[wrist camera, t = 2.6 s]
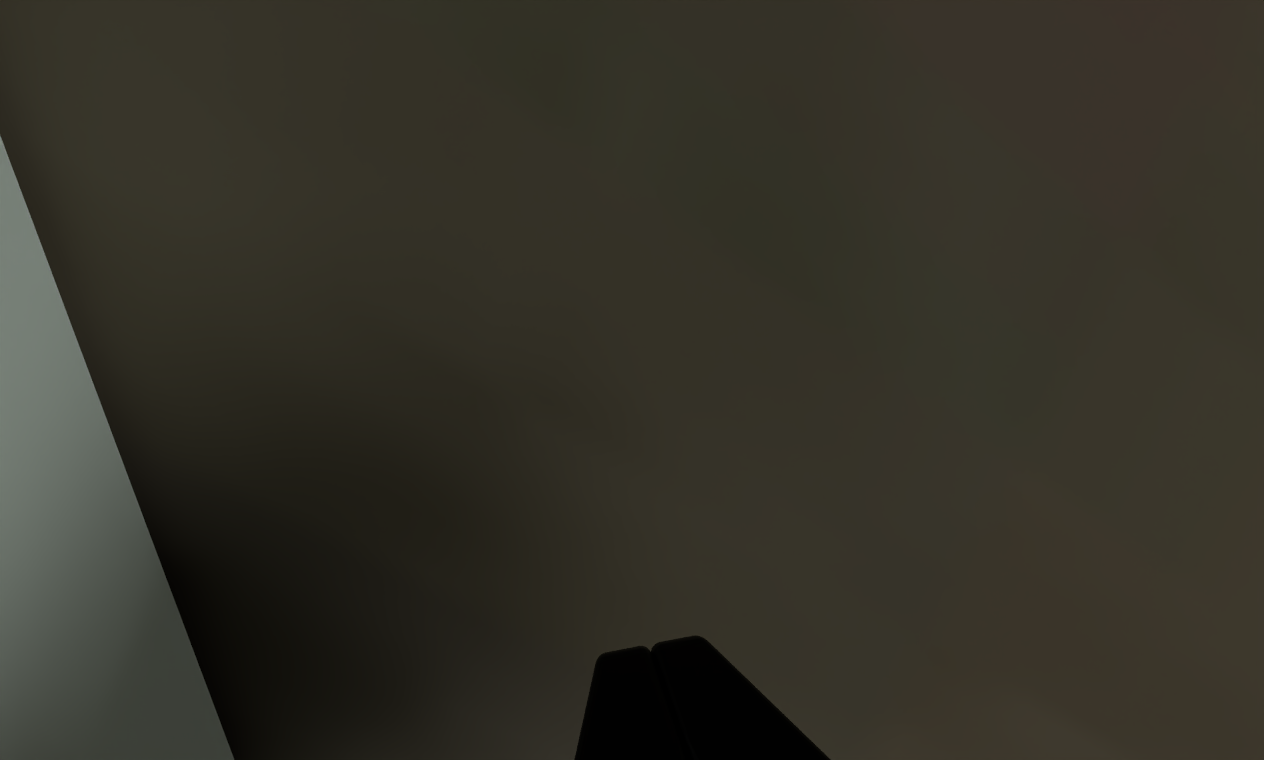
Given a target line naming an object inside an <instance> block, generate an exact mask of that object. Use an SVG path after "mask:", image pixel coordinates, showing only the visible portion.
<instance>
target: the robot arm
mask: <svg viewBox="0 0 1264 760" xmlns="http://www.w3.org/2000/svg"><path fill="white" fill-rule="evenodd" d="M575 760H830V759H829V758H828V757H827V756H826V755H825V754H824V753H823V752H822V751H821V750H820V749H819V748H818V747H817V746H816V745H815V744H814V743H813V742H812V741H811V740H810V739H809V738H808V737H807V736H806V735H805V734H803V733H802V732H801V731H800V730H799V729H798V728H797V727H796V726H795V725H794V724H793V723H792V722H791V721H790V720H789V719H788V718H787V717H786V716H785V715H784V714H783V713H782V712H781V711H780V710H779V709H778V708H777V707H776V706H774V705H773V704H772V703H771V702H770V701H769V700H768V699H767V698H766V697H765V696H764V695H763V694H762V693H761V692H760V691H759V690H758V689H757V688H756V687H755V686H754V685H753V684H752V683H751V682H750V681H749V680H748V679H747V678H745V677H744V676H743V675H742V674H741V673H740V672H739V671H738V670H737V669H736V668H735V667H734V666H733V665H732V664H731V663H730V662H729V661H728V660H727V659H726V658H725V657H724V656H723V655H722V654H721V653H720V652H719V651H718V650H717V649H715V648H714V647H713V646H712V645H711V644H710V643H709V642H708V641H707V640H706V639H704V638H703V637H700V636H690V637H684V638H679V639H674V640H669V641H663V642H659V643H656V644H655V645H654V646H653V647H652V650H651V652H650V650H649V649H648V648H647V647H644V646H637V647H632V648H627V649H622V650H617V651H612V652H606V653H603V654H601V655H600V656H599V657H598V659H597V661H596V664H595V669H594V673H593V678H592V682H591V687H590V691H589V696H588V701H587V705H586V710H585V714H584V719H583V723H582V728H581V732H580V737H579V742H578V746H577V751H576V755H575Z"/></svg>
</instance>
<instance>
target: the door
mask: <svg viewBox="0 0 1264 760" xmlns="http://www.w3.org/2000/svg"><path fill="white" fill-rule="evenodd" d="M0 760H234V758H233V755H232V752H231V750H230V747H229V744H228V742H227V739H226V736H225V734H224V731H223V728H222V726H221V723H220V720H219V718H218V715H217V712H216V710H215V707H214V704H213V702H212V699H211V696H210V694H209V691H208V688H207V686H206V683H205V680H204V678H203V675H202V672H201V670H200V667H199V664H198V662H197V659H196V656H195V654H194V651H193V648H192V646H191V643H190V640H189V638H188V635H187V632H186V630H185V627H184V624H183V622H182V619H181V616H180V614H179V611H178V608H177V606H176V603H175V600H174V598H173V595H172V592H171V590H170V587H169V584H168V582H167V579H166V576H165V574H164V571H163V568H162V566H161V563H160V560H159V558H158V555H157V552H156V550H155V547H154V544H153V542H152V539H151V536H150V534H149V531H148V528H147V526H146V523H145V520H144V518H143V515H142V512H141V510H140V507H139V504H138V502H137V499H136V496H135V494H134V491H133V488H132V486H131V483H130V480H129V478H128V475H127V472H126V470H125V467H124V464H123V462H122V459H121V456H120V454H119V451H118V448H117V446H116V443H115V440H114V438H113V435H112V432H111V430H110V427H109V424H108V422H107V419H106V416H105V414H104V411H103V408H102V406H101V403H100V400H99V398H98V395H97V392H96V390H95V387H94V384H93V382H92V379H91V376H90V374H89V371H88V368H87V366H86V363H85V360H84V358H83V355H82V352H81V350H80V347H79V344H78V342H77V339H76V336H75V334H74V331H73V328H72V326H71V323H70V320H69V318H68V315H67V312H66V310H65V307H64V304H63V302H62V299H61V296H60V294H59V291H58V288H57V286H56V283H55V280H54V278H53V275H52V272H51V270H50V267H49V264H48V262H47V259H46V256H45V254H44V251H43V248H42V246H41V243H40V240H39V238H38V235H37V232H36V230H35V227H34V224H33V222H32V219H31V216H30V214H29V211H28V208H27V206H26V203H25V200H24V198H23V195H22V192H21V190H20V187H19V184H18V182H17V179H16V176H15V174H14V171H13V168H12V166H11V163H10V160H9V158H8V155H7V153H6V150H5V147H4V145H3V142H2V139H1V137H0Z"/></svg>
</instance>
